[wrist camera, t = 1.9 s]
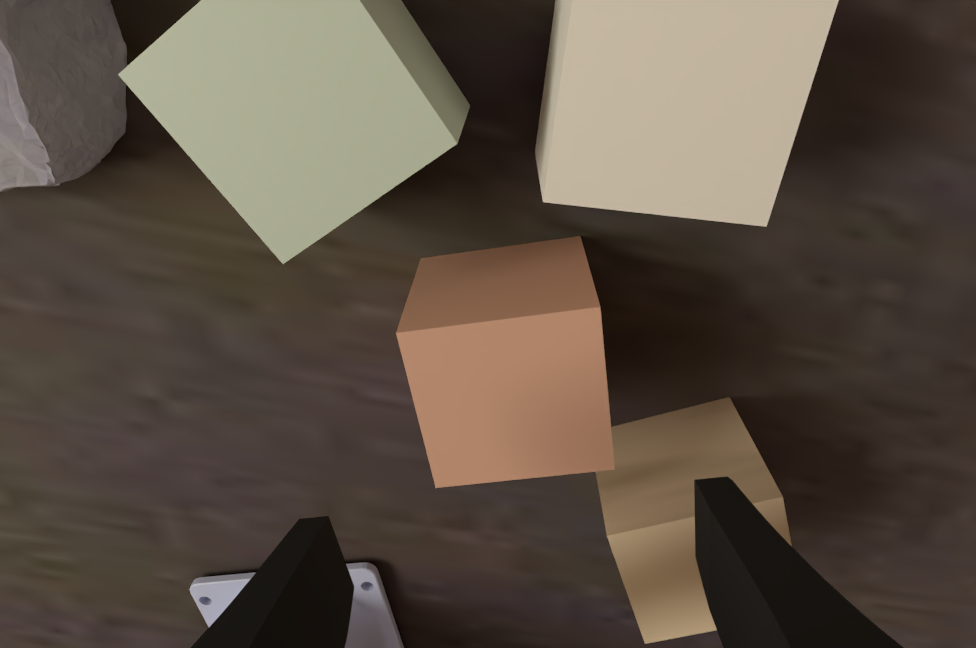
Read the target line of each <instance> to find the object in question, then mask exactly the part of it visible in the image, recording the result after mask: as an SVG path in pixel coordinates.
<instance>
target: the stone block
mask: <svg viewBox="0 0 976 648" xmlns="http://www.w3.org/2000/svg"><path fill="white" fill-rule="evenodd" d="M126 67H127V48H126V44H125V42H124V40H123V38H122V35H121V31H120V28H119V25H118V22H117V20H116V17H115V14H114V10H113V7H112V4H111V0H0V192H3V191H9V190H11V189H13V188H15V187H32V186H59V185H60V183H64V182H65V181H71V180H74V179H77V178H79V177H81V176H82V175H84V174H86V173H87V172H89V171H92V170H94V169H95V167H96V166H97V164H98V163H100V162H101V159H103V158H104V157H105V156H106V155H107V154H108V153H109V152H111V150H112V147H113V146H114V145H115V143H116V141H118V140H119V139H120V138H121V137H122V136H123V135H124V134H125V132H126V120H127V110H126V83H125V82H124V81H123V80H122V79H121V78H120V76H119V75H118V74H119V73H120V72H121V71H122V70H123V69H125V68H126Z"/></svg>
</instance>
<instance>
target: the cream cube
mask: <svg viewBox="0 0 976 648" xmlns="http://www.w3.org/2000/svg"><path fill="white" fill-rule="evenodd" d="M838 1H839V0H555V8H554V15H553V22H552V30H551V37H550V44H549V52H548V59H547V66H546V74H545V81H544V88H543V96H542V103H541V111H540V118H539V125H538V133H537V140H536V147H535V156H536V163H537V169H538V175H539V182H540V188H541V194H542V200H543V202H546V203H555V204H564V205H573V206H582V207H592V208H601V209H610V210H619V211H628V212H637V213H646V214H655V215H665V216H674V217H683V218H692V219H701V220H710V221H719V222H728V223H738V224H747V225H756V226H765V227H767V224H768V221H769V217H770V214H771V211H772V208H773V205H774V202H775V199H776V195H777V192H778V189H779V186H780V183H781V180H782V177H783V173H784V170H785V167H786V164H787V161H788V158H789V155H790V151H791V148H792V145H793V142H794V139H795V136H796V133H797V129H798V126H799V123H800V120H801V117H802V114H803V111H804V108H805V104H806V101H807V98H808V95H809V92H810V89H811V86H812V82H813V79H814V76H815V73H816V70H817V67H818V64H819V60H820V57H821V54H822V51H823V48H824V45H825V42H826V38H827V35H828V32H829V29H830V26H831V23H832V20H833V16H834V13H835V10H836V7H837V4H838Z"/></svg>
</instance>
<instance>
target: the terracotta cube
mask: <svg viewBox="0 0 976 648" xmlns="http://www.w3.org/2000/svg"><path fill="white" fill-rule="evenodd" d="M396 335H397V339H398V343H399V346H400V350H401V354H402V358H403V362H404V366H405V370H406V374H407V378H408V381H409V385H410V389H411V393H412V397H413V401H414V405H415V409H416V413H417V417H418V420H419V424H420V428H421V432H422V436H423V440H424V444H425V448H426V452H427V456H428V459H429V463H430V467H431V471H432V475H433V479H434V483H435V487H436V488H439V487H449V486H459V485H469V484H478V483H488V482H498V481H508V480H517V479H527V478H537V477H547V476H556V475H566V474H576V473H586V472H595V471H605V470H615V466H614V454H613V443H612V432H611V421H610V409H609V398H608V387H607V375H606V364H605V353H604V342H603V330H602V319H601V308H600V304H599V300H598V296H597V293H596V289H595V286H594V282H593V279H592V275H591V272H590V268H589V265H588V261H587V257H586V254H585V250H584V247H583V243H582V240H581V236H577V237H570V238H563V239H556V240H548V241H541V242H534V243H527V244H520V245H513V246H506V247H499V248H491V249H484V250H477V251H470V252H463V253H456V254H449V255H442V256H435V257H427V258H421V259H420V262H419V265H418V268H417V272H416V275H415V278H414V281H413V284H412V287H411V290H410V293H409V296H408V299H407V302H406V305H405V308H404V311H403V314H402V317H401V320H400V323H399V326H398V329H397V332H396Z"/></svg>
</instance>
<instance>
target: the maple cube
mask: <svg viewBox="0 0 976 648" xmlns="http://www.w3.org/2000/svg"><path fill="white" fill-rule="evenodd" d="M611 432H612V443H613V454H614V466H615V470H605V471H596V477H597V482H598V488H599V494H600V499H601V505H602V511H603V516H604V522H605V528H606V533H607V538H608V540H609V543H610V546H611V549H612V552H613V555H614V557H615V560H616V563H617V566H618V569H619V572H620V574H621V577H622V580H623V583H624V586H625V589H626V591H627V594H628V597H629V600H630V603H631V606H632V608H633V611H634V614H635V617H636V620H637V623H638V625H639V628H640V631H641V634H642V637H643V640H644V642H645V644H647V643H652V642H657V641H662V640H668V639H673V638H678V637H683V636H689V635H694V634H699V633H705V632H710V631H715V630H717V629H716V626H715V623H714V621H713V618H712V615H711V613H710V610H709V607H708V603H707V599H706V595H705V592H704V588H703V584H702V580H701V577H700V573H699V569H698V565H697V561H696V557H695V496H694V480H696V479H706V478H716V477H726V476H727V477H729V478H730V479H731V480H733V481H734V482H735V484H736V485H737V486H738V487H739V489H740V490H741V491H742V492H743V493H744V495H745V496H746V497H747V498H748V499H749V500H750V502H751V503H752V504H753V505H754V506H755V507H756V509H757V510H758V511H759V512H760V513H761V514H762V515H763V516H764V518H765V519H766V520H767V521H768V522H769V523H770V524H771V525H772V526H773V527H774V529H775V530H776V531H777V532H778V533H779V534H780V535H781V536H782V537H783V538H784V539H785V540H786V541H787V542H788V543H789V544H790V545H791V539H790V534H789V528H788V523H787V517H786V511H785V506H784V500H783V496H782V494H781V492H780V491H779V489H778V487H777V485H776V483H775V481H774V479H773V477H772V476H771V474H770V472H769V470H768V468H767V466H766V464H765V463H764V461H763V459H762V457H761V455H760V453H759V451H758V450H757V448H756V446H755V444H754V442H753V440H752V438H751V436H750V435H749V433H748V431H747V429H746V427H745V425H744V423H743V422H742V420H741V418H740V416H739V414H738V412H737V410H736V408H735V407H734V405H733V403H732V401H731V399H730V397H727V398H723V399H720V400H716V401H712V402H708V403H704V404H700V405H696V406H692V407H688V408H684V409H680V410H676V411H672V412H668V413H664V414H660V415H657V416H653V417H649V418H645V419H641V420H637V421H633V422H629V423H625V424H621V425H617V426H613V427H611ZM791 546H792V545H791Z"/></svg>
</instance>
